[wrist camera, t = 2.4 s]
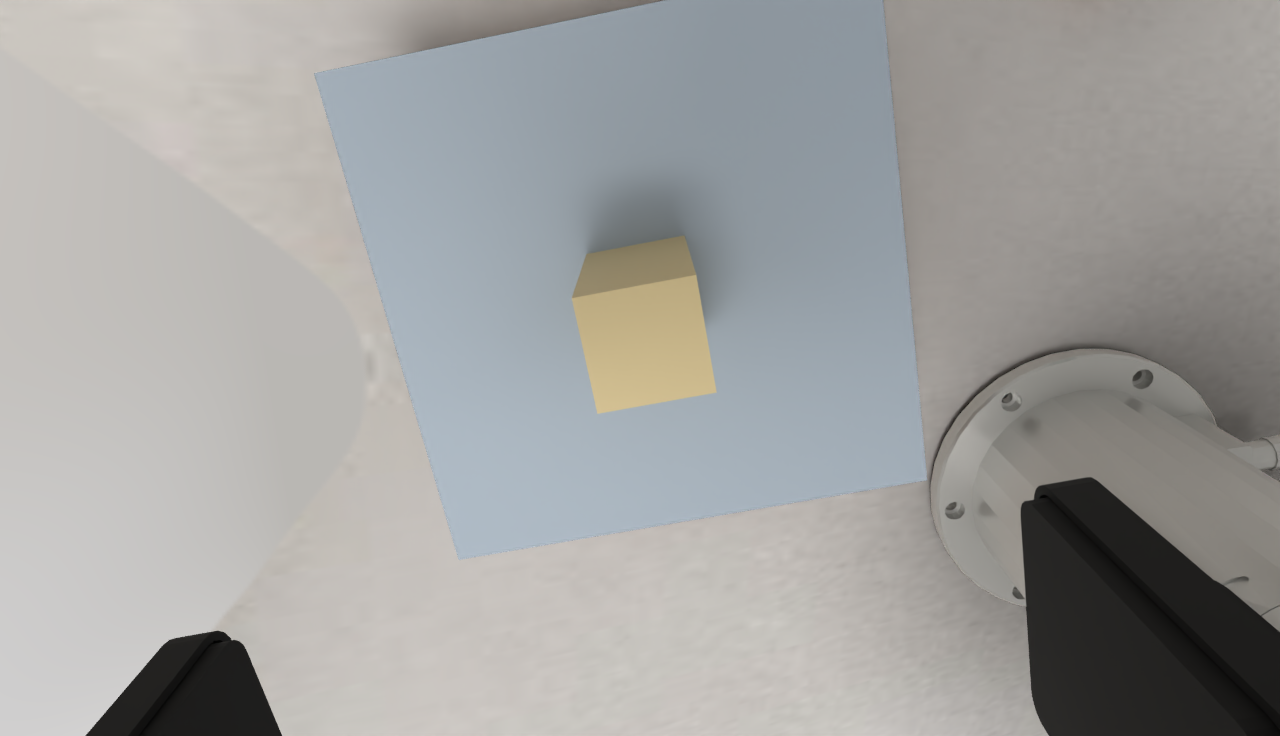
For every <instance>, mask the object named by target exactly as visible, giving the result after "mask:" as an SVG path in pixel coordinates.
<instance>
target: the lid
mask: <svg viewBox="0 0 1280 736" xmlns="http://www.w3.org/2000/svg"><path fill="white" fill-rule="evenodd" d="M314 75H315V78H316V81H317V85H318V88H319V91H320V95H321V98H322V102H323V105H324V108H325V112H326V115H327V118H328V122H329V125H330V128H331V132H332V135H333V139H334V142H335V145H336V149H337V152H338V155H339V159H340V162H341V165H342V169H343V172H344V176H345V179H346V182H347V186H348V189H349V192H350V196H351V199H352V202H353V206H354V209H355V212H356V216H357V219H358V223H359V226H360V229H361V233H362V236H363V239H364V243H365V246H366V249H367V253H368V256H369V260H370V263H371V266H372V270H373V273H374V276H375V280H376V283H377V286H378V290H379V293H380V297H381V300H382V303H383V307H384V310H385V313H386V317H387V320H388V323H389V327H390V330H391V334H392V337H393V340H394V344H395V347H396V350H397V354H398V357H399V360H400V364H401V367H402V371H403V374H404V377H405V381H406V384H407V387H408V391H409V394H410V397H411V401H412V404H413V408H414V411H415V414H416V418H417V421H418V424H419V428H420V431H421V434H422V438H423V441H424V445H425V448H426V451H427V455H428V458H429V461H430V465H431V468H432V471H433V475H434V478H435V482H436V485H437V488H438V492H439V495H440V498H441V502H442V505H443V508H444V512H445V515H446V519H447V522H448V525H449V529H450V532H451V535H452V539H453V542H454V545H455V549H456V552H457V555H458V559H459V560H461V559H466V558H472V557H478V556H484V555H490V554H496V553H502V552H508V551H514V550H519V549H525V548H531V547H537V546H543V545H549V544H555V543H561V542H567V541H572V540H578V539H584V538H590V537H596V536H602V535H608V534H614V533H620V532H625V531H631V530H637V529H643V528H649V527H655V526H661V525H667V524H673V523H678V522H684V521H690V520H696V519H702V518H708V517H714V516H720V515H726V514H731V513H737V512H743V511H749V510H755V509H761V508H767V507H773V506H779V505H784V504H790V503H796V502H802V501H808V500H814V499H820V498H826V497H832V496H837V495H843V494H849V493H855V492H861V491H867V490H873V489H879V488H885V487H890V486H896V485H902V484H908V483H914V482H920V481H926V480H927V472H926V461H925V451H924V440H923V429H922V418H921V407H920V396H919V385H918V374H917V363H916V352H915V342H914V331H913V320H912V309H911V298H910V287H909V276H908V265H907V254H906V243H905V233H904V222H903V211H902V200H901V189H900V178H899V167H898V156H897V145H896V134H895V124H894V113H893V102H892V91H891V80H890V69H889V58H888V47H887V36H886V25H885V15H884V4H883V0H664V1H659V2H654V3H649V4H645V5H640V6H635V7H630V8H625V9H621V10H616V11H611V12H606V13H601V14H597V15H592V16H587V17H582V18H577V19H573V20H568V21H563V22H558V23H553V24H549V25H544V26H539V27H534V28H529V29H525V30H520V31H515V32H510V33H505V34H501V35H496V36H491V37H486V38H482V39H477V40H472V41H467V42H462V43H458V44H453V45H448V46H443V47H438V48H434V49H429V50H424V51H419V52H414V53H410V54H405V55H400V56H395V57H390V58H386V59H381V60H376V61H371V62H366V63H362V64H357V65H352V66H347V67H342V68H338V69H333V70H328V71H323V72H318V73H314Z"/></svg>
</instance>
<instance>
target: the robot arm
mask: <svg viewBox="0 0 1280 736" xmlns="http://www.w3.org/2000/svg"><path fill="white" fill-rule="evenodd" d="M1006 394H1008V396H1007V397H1006V399H1003V397H1004V396H1005V395H1006ZM1002 399H1003V400H1002ZM1267 469H1268V470H1277V469H1280V435H1274V436H1268V437H1263V438H1260V439H1258V440H1254V441H1248V442H1243V441H1241V440H1240V439H1238V438H1236V437H1234V436H1232V435H1230V434H1229V433H1227V432H1225V431H1224V430H1222V429H1220V428H1218V426H1217V424H1216V421H1215V419H1214V416H1213V414H1212V412H1211V410H1210V409H1209V407H1208V406H1207V404H1206V403H1205V402H1204V400H1203V399H1202V397H1201V396H1200V394H1199V393H1198V392H1197V391H1196V390H1195V389H1194V388H1192V387H1191V386H1190V385H1189V384H1188V383H1187V382H1186V381H1185V380H1183V379H1182V378H1181V377H1180V376H1178V375H1177V374H1175V373H1173V372H1172V371H1170V370H1168V369H1166V368H1165V367H1163V366H1161V365H1159V364H1157V363H1155V362H1153V361H1150V360H1148V359H1145V358H1143V357H1141V356H1138V355H1136V354H1132V353H1127V352H1122V351H1117V350H1112V349H1075V350H1070V351H1064V352H1058V353H1053V354H1049V355H1047V356H1044V357H1041V358H1038V359H1035V360H1033V361H1030V362H1027V363H1024V364H1022V365H1021V366H1019V367H1017V368H1015V369H1013V370H1012V371H1010V372H1008V373H1006V374H1005V375H1003V376H1001V377H999V378H998V379H997V380H995V381H994V382H993V383H992V384H990V385H989V386H988V387H986V388H985V389H984V390H983V391H981V392H980V393H979V394H978V395H976V397H975V398H974V399H973V400H972V401H971V402H970V403H969V404H968V405H967V407H966V408H965V409H964V410H963V411H962V412H961V413H960V414H959V416H958V417H957V418H956V420H955V422H954V423H953V425H952V426H951V428H950V430H949V431H948V433H947V435H946V436H945V438H944V440H943V442H942V445H941V447H940V450H939V452H938V455H937V458H936V460H935V463H934V469H933V474H932V480H931V486H930V492H931V511H932V515H933V519H934V523H935V527H936V530H937V533H938V535H939V537H940V539H941V541H942V543H943V545H944V546H945V548H946V550H947V552H948V553H949V555H950V556H951V558H952V559H953V560H954V562H955V563H956V564H957V566H958V567H959V569H960V570H961V571H962V572H963V573H964V574H965V575H966V576H967V577H968V578H969V579H970V580H971V581H973V582H974V583H975V584H976V585H977V586H979V587H980V588H982V589H983V590H985V591H987V592H988V593H990V594H992V595H993V596H995V597H997V598H999V599H1002V600H1004V601H1007V602H1009V603H1012V604H1015V605H1018V606H1024V607H1026V611H1027V627H1028V643H1029V659H1030V674H1031V690H1032V697H1033V701H1034V705H1035V708H1036V711H1037V714H1038V717H1039V719H1040V721H1041V723H1042V725H1043V727H1044V729H1045V730H1046V732H1047V733H1048V735H1049V736H1280V481H1277V480H1276V479H1274V478H1272V477H1271V476H1269V475H1267V474H1266V473H1264V472H1262V471H1261V470H1267ZM951 503H952V504H951ZM949 504H951V505H949ZM86 736H282V735H281V732H280V730H279V727H278V725H277V723H276V720H275V718H274V715H273V713H272V711H271V708H270V706H269V703H268V701H267V699H266V696H265V694H264V691H263V689H262V687H261V684H260V682H259V679H258V677H257V675H256V672H255V670H254V667H253V665H252V663H251V660H250V658H249V655H248V653H247V651H246V649H245V647H244V645H243V644H242V643H240V642H239V641H236V640H231V638H230V637H229V636H228V635H227V634H226V633H224V632H221V631H214V632H208V633H202V634H197V635H192V636H185V637H180V638H175V639H172V640H169V641H168V642H167V643H165V644H164V645H163V646H162V647H161V648H160V649H159V651H158V652H157V653H156V654H155V655H154V656H153V658H152V659H151V660H150V661H149V662H148V663H147V665H146V666H145V667H144V668H143V670H142V671H141V672H140V673H139V674H138V675H137V676H136V677H135V679H134V680H133V681H132V682H131V683H130V684H129V686H128V687H127V688H126V689H125V690H124V692H123V693H122V694H121V695H120V696H119V697H118V699H117V700H116V701H115V702H114V703H113V704H112V706H111V707H110V708H109V709H108V710H107V711H106V713H105V714H104V715H103V716H102V717H101V718H100V720H99V721H98V722H97V723H96V724H95V725H94V727H93V728H92V729H91V730H90V731H89V732H88V734H87V735H86Z"/></svg>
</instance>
